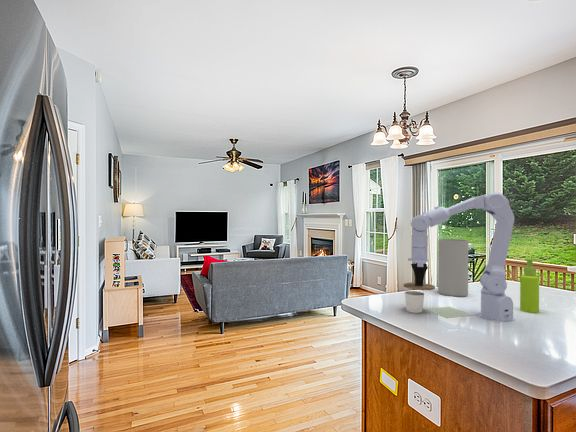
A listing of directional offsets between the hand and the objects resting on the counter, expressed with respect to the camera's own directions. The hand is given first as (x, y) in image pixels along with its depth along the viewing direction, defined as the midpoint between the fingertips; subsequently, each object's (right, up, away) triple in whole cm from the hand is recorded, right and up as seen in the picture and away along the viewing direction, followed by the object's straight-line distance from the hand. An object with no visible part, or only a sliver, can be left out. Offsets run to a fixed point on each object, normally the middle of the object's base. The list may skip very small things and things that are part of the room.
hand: (419, 283), depth 127 cm
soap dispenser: (+44, -11, +2) cm, 45 cm away
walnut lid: (0, -1, 0) cm, 1 cm away
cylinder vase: (+27, -11, +30) cm, 42 cm away
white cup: (-2, -11, 0) cm, 11 cm away
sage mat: (+10, -11, -1) cm, 15 cm away
